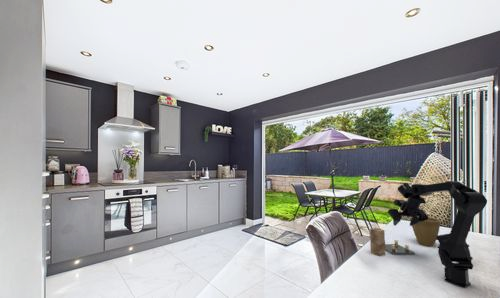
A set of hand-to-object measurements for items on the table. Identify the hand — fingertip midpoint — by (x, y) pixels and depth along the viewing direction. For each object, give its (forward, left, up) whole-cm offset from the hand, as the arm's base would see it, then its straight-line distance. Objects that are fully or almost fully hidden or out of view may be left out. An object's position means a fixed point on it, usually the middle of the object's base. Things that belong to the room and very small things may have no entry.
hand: (402, 225), depth 122 cm
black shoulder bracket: (-17, -13, -15) cm, 27 cm away
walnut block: (+6, +15, -15) cm, 22 cm away
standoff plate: (+4, 0, -15) cm, 15 cm away
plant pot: (+1, -28, -15) cm, 32 cm away
